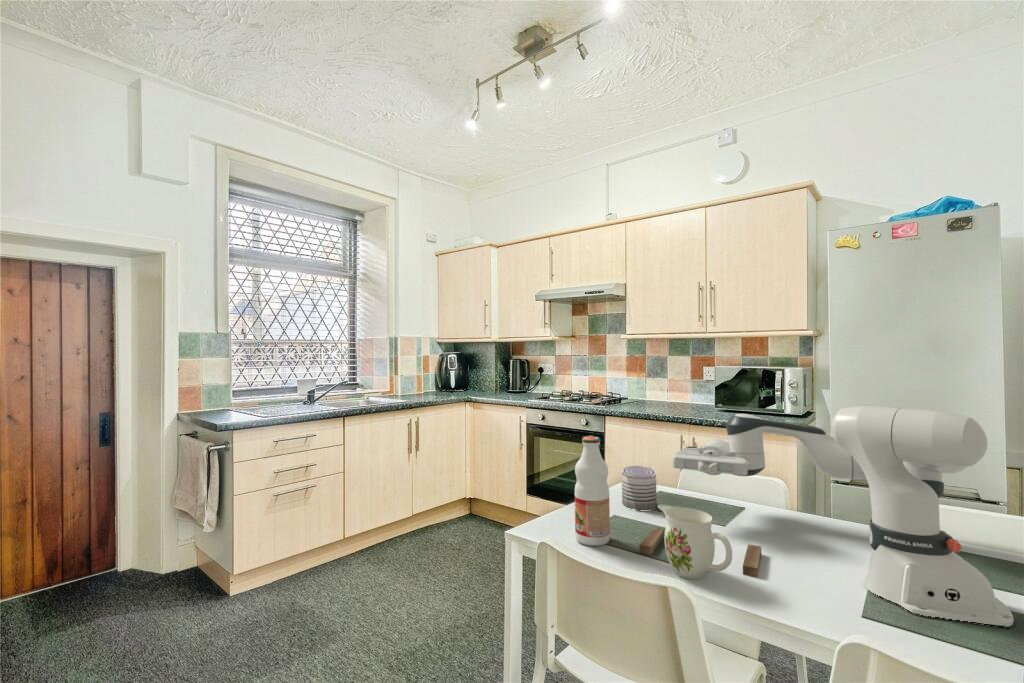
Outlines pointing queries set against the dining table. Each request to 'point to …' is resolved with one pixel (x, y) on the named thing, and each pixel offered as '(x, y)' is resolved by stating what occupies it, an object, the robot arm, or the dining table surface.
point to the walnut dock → (750, 560)
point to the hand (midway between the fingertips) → (705, 469)
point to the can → (639, 488)
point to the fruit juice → (592, 496)
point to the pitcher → (692, 542)
